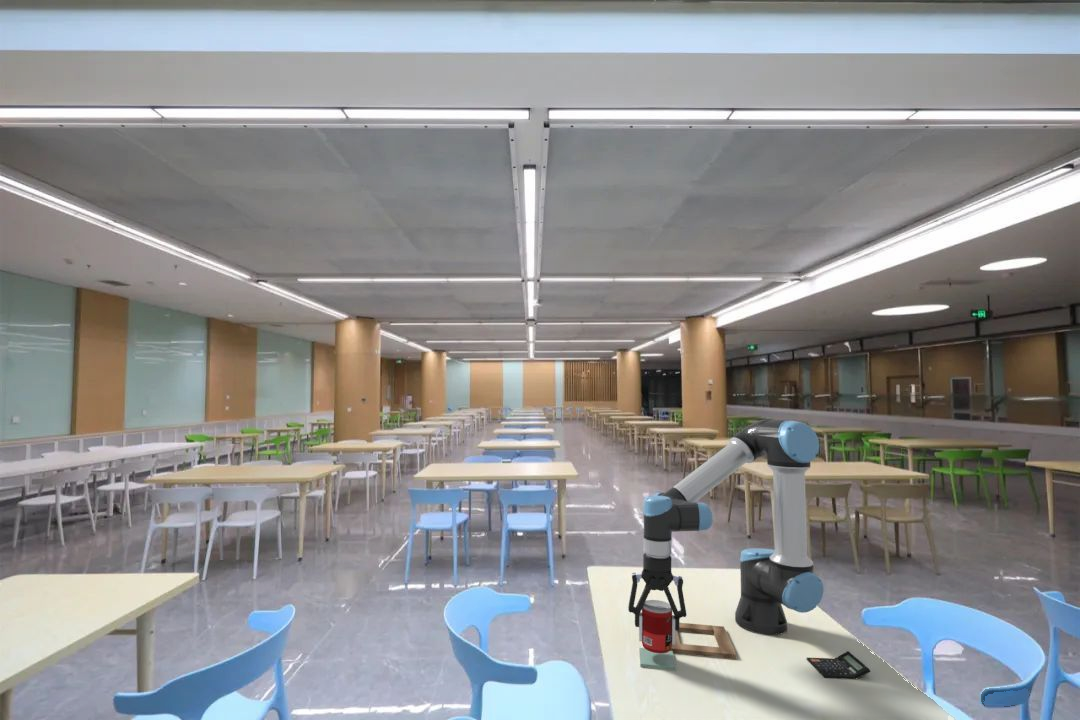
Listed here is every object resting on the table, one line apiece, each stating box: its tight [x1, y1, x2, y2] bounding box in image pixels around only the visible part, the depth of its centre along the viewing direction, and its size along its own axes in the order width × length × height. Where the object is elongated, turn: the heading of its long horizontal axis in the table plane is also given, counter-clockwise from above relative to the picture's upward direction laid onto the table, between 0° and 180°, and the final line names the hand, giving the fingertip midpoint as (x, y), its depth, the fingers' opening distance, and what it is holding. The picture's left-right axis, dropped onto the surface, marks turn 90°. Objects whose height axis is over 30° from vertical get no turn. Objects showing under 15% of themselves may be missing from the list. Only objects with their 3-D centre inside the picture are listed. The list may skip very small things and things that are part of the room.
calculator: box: [806, 650, 871, 680], centre depth 136 cm, size 9×12×3 cm
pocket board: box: [670, 622, 737, 660], centre depth 151 cm, size 18×18×1 cm
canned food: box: [641, 599, 673, 653], centre depth 139 cm, size 8×8×11 cm
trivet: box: [638, 647, 677, 671], centre depth 139 cm, size 9×9×1 cm
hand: (656, 640), depth 139 cm, fingers closed on canned food, 8 cm apart
